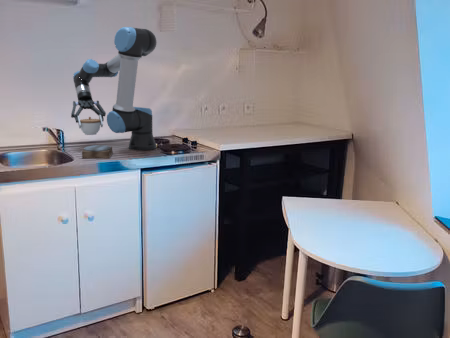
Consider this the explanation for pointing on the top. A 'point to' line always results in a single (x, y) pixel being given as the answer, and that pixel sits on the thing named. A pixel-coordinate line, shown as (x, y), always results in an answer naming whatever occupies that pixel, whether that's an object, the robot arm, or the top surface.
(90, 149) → the dish stand
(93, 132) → the lidded jar
